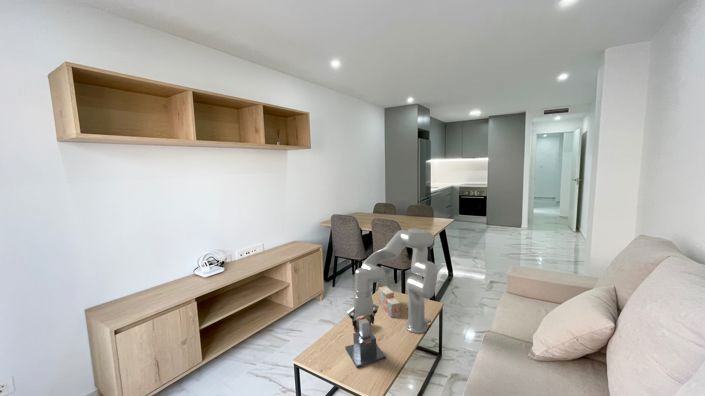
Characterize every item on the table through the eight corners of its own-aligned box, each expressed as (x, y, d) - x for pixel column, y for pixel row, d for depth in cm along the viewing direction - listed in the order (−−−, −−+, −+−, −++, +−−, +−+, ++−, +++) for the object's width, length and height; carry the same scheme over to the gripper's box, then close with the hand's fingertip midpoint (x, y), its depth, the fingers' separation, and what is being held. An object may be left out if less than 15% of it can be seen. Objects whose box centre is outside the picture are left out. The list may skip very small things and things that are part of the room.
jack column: (366, 346, 152) (366, 318, 150) (370, 351, 148) (369, 322, 146) (359, 349, 150) (358, 320, 148) (362, 353, 146) (361, 324, 145)
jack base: (372, 341, 160) (371, 324, 158) (385, 358, 145) (385, 340, 144) (345, 349, 154) (344, 331, 153) (356, 368, 139) (356, 348, 138)
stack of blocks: (400, 316, 185) (399, 298, 184) (391, 318, 183) (390, 300, 182) (386, 301, 206) (386, 285, 204) (378, 303, 204) (378, 286, 202)
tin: (357, 336, 165) (356, 322, 164) (352, 334, 167) (352, 321, 166) (372, 325, 176) (371, 312, 175) (368, 323, 178) (367, 310, 177)
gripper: (374, 287, 152) (375, 317, 154) (344, 292, 146) (345, 324, 147) (381, 292, 145) (381, 324, 147) (349, 298, 139) (350, 332, 140)
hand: (363, 324), depth 147 cm, fingers open, 9 cm apart
